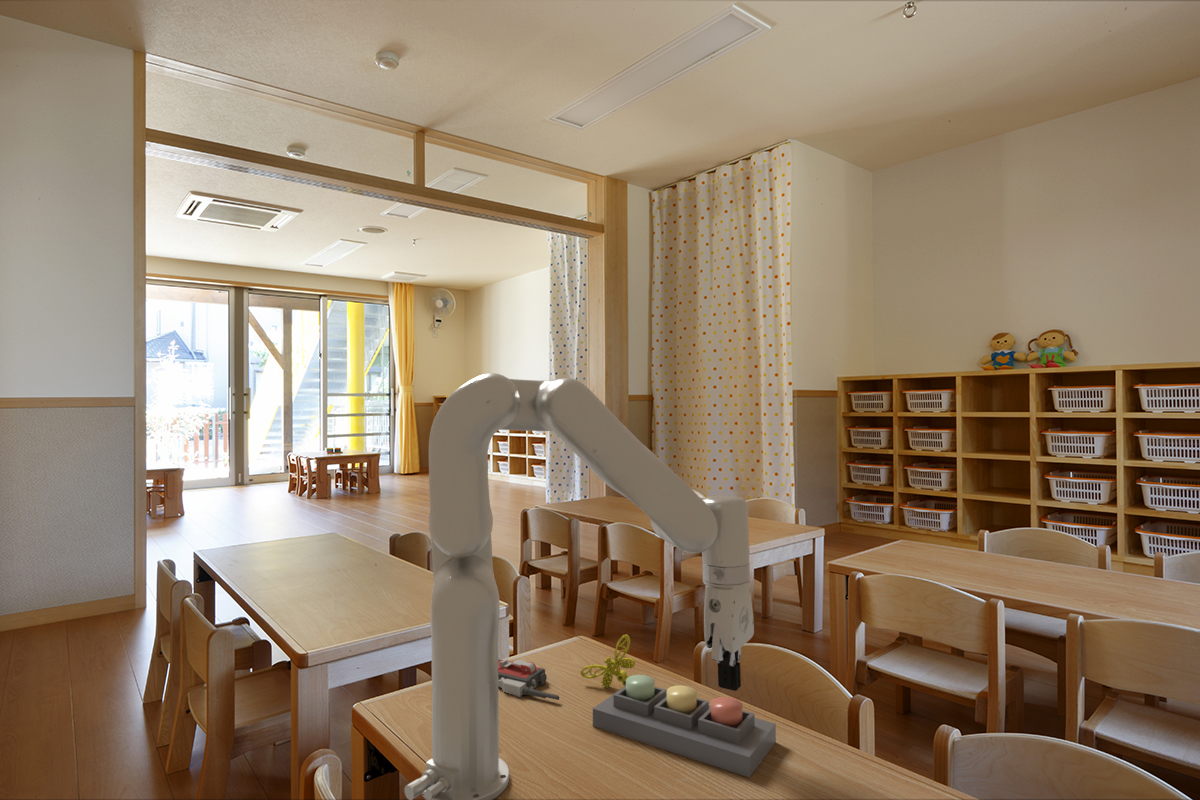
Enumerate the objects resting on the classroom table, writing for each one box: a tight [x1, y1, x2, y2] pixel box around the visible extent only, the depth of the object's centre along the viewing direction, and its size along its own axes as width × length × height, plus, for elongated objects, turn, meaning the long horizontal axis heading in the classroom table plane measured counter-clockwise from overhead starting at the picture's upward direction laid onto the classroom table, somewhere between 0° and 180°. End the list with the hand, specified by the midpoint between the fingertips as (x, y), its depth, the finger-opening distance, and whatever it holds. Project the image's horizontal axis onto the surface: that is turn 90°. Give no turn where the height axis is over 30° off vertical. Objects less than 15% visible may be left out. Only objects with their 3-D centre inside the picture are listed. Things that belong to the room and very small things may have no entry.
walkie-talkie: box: [498, 658, 560, 701], centre depth 125 cm, size 9×4×20 cm
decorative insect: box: [580, 634, 636, 689], centre depth 124 cm, size 13×3×10 cm
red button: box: [710, 696, 743, 727], centre depth 102 cm, size 5×5×2 cm
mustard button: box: [666, 684, 698, 714], centre depth 106 cm, size 5×5×2 cm
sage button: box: [626, 674, 656, 702], centre depth 111 cm, size 5×5×2 cm
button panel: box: [592, 685, 777, 778], centre depth 106 cm, size 12×28×5 cm, turn 56°
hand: (729, 687), depth 102 cm, fingers closed
